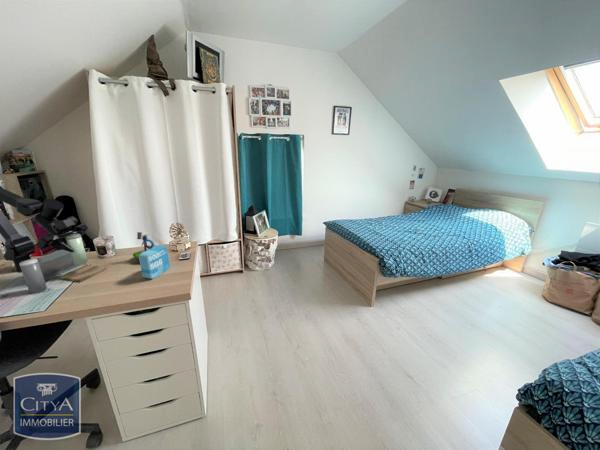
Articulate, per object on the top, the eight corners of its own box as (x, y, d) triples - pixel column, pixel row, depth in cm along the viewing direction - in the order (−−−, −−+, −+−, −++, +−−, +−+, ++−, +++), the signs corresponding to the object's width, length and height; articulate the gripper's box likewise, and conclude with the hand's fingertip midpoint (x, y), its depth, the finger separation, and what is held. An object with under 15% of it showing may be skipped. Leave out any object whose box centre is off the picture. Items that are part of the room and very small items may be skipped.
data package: (151, 280, 110) (146, 255, 106) (142, 279, 111) (137, 254, 107) (170, 267, 121) (166, 245, 117) (162, 266, 122) (158, 244, 118)
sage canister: (71, 262, 112) (63, 236, 108) (85, 258, 116) (78, 232, 112) (75, 265, 109) (67, 238, 105) (89, 261, 113) (82, 235, 109)
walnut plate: (59, 278, 110) (59, 276, 110) (87, 266, 121) (86, 264, 121) (80, 282, 108) (80, 280, 107) (106, 269, 119) (106, 267, 118)
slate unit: (25, 280, 108) (18, 264, 106) (74, 260, 127) (69, 246, 124) (40, 283, 106) (34, 266, 104) (87, 262, 125) (83, 248, 122)
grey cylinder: (26, 292, 100) (15, 263, 96) (41, 286, 104) (31, 258, 100) (35, 294, 99) (25, 265, 95) (50, 287, 103) (40, 259, 99)
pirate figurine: (165, 252, 138) (161, 226, 134) (161, 261, 127) (156, 234, 122) (137, 255, 134) (131, 229, 129) (130, 265, 123) (124, 237, 118)
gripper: (33, 218, 97) (65, 246, 99) (79, 207, 115) (106, 231, 117) (22, 236, 100) (54, 262, 103) (69, 222, 118) (95, 245, 120)
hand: (79, 249), depth 110 cm, fingers closed on sage canister, 5 cm apart
